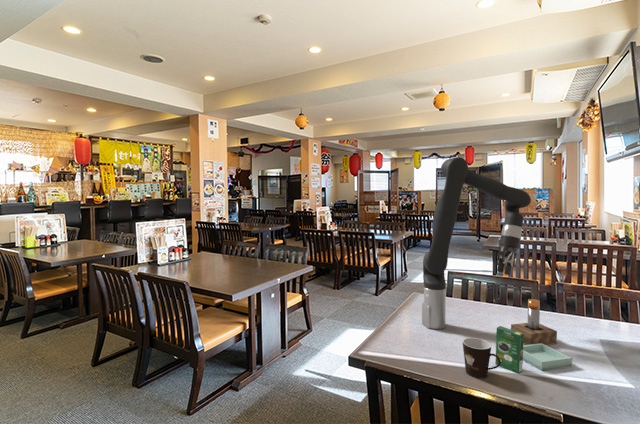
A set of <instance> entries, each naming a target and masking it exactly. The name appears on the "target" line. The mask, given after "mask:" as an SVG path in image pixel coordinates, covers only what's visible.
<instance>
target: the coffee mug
mask: <svg viewBox="0 0 640 424" xmlns="http://www.w3.org/2000/svg"><path fill="white" fill-rule="evenodd" d="M462 349H463V358H464V366H465V372H466V373H465V374H467V375H468V376H469V377H472V378H474V379H485V378H487V377H488V374H489V371H491V370H495V369H497V368H499V367H501V366H500V364H501V361H500V358H499V357H498V356H497V355H496V353H492V344H491V343H490V342H489V341H488V340H485V339H482V338H476V337H466V338H463V339H462ZM491 356H492V357H495V359H496V358H497V359H498V362H499V363H498V365H497V364H496V365H495V366H491V367H489V366H490V359H491Z"/></svg>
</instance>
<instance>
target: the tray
mask: <svg viewBox="0 0 640 424" xmlns="http://www.w3.org/2000/svg"><path fill="white" fill-rule="evenodd" d="M523 361H524V362H525V363H528V364H529V365H530V366H533V367H534V368H536V369H538V370H539V371H542V372H543V371H545V372H546V371H549V370H550V371H551V370H559V369H564V368H565V369H566V368H572V367H573V366H572V365H573V364H572V362H573V357H571V356H568V354H567V355H566V354H565V353H563V352H560V351H558V350H557V349H555V348H552V347H550V346H549V345H544V344H542V343H540V344H531V345H526V344H523Z"/></svg>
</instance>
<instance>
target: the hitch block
mask: <svg viewBox="0 0 640 424" xmlns="http://www.w3.org/2000/svg"><path fill="white" fill-rule="evenodd" d="M510 329H511V330H514V331H517V332H520V333H524V343H523V345H531V344H540V343H542V344H544V345H546V346H550V345H557V344H558V343H557V340H558V339H557V338H558V331H557V330H555V329H553V328H550V327H548V326H546V325H544V324H541V323H539V330H536V331H533V330H530V329H528V322H522V323H512V324H510Z"/></svg>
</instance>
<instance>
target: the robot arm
mask: <svg viewBox="0 0 640 424" xmlns="http://www.w3.org/2000/svg"><path fill="white" fill-rule="evenodd" d="M440 171H441V173H442V175H443V177H445V183H444V184H445V185H444V188H443V190H442V192H441V195H440V197H439V199H438V201H437V203H436V205H435V209H434V213H433V219H432V231H431V232H432V233H431V234H432V239H431V245H430V248H429V251H428V252H426V253H425V255H424V256H423V261H422V272H423V273H422V279H423V302H422V303H421V324H422V325H423V326H424V327H426V328H428V329H433V330H434V329H435V330H443V329H445V328H446V322H447V321H446V304H447V303H446V300H447V299H446V297H447V295H446V293H447V289H446V288H447V287H446V284H447V283H446V279H445V271H446V269H447V266H448V260H449V252H450V251H449V249H450V244H451V240H452V237H453V233H454V229H455V226H456V225H455V224H456V221H457V217H458V211H459V205H460V200H461V194H462V190H463V187H464V184H465V185H467V186H470V187H472V188H474V189H475V190H478V191H479V192H482V193H484V194H486V195H488V196H489V197H491V198H494V199H496V200H498V201H504V213H505V214H504V215H505V217H504V222H503V225H502V229H501V234H500V239H499V248H498V251H497V256H496V260H497V263H498V265H497V270H496V271H497V272H498V273H504V275H506V276H510V275H511V274H512V268H513V267H515V265H516V264H515V263H516V258H517V252H515V251H514V250H518V249H520V245H521V244H520V243H521V238H522V232H523V230H522V229H523V224H524V220H525V219H524V218H525V217H524V215H523V213H522V214H521V213H520V209H524V208H526V207H528V206H529V205H530V204H531V202H532V198H531V196H530V194H529V193H528V192H526V191H525V190H522V189H519V188H516V187H513V186H508V185H506V184H504V183H502V182H500V181H499V180H496V179H494V178H491V177H489V176H486V175H483V174H480V173H478V172H475V171H473V170H470V169H469V165H468V162H467V160H466V159H465V158H463V157H459V156H458V157H456V156H455V157H451V158H448V159H446V160H445V161H443V162H442V163H441V167H440Z"/></svg>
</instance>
